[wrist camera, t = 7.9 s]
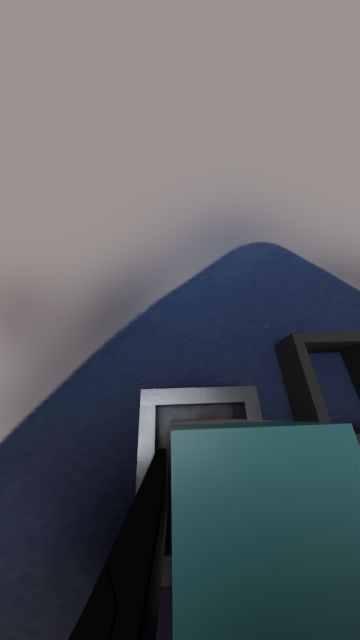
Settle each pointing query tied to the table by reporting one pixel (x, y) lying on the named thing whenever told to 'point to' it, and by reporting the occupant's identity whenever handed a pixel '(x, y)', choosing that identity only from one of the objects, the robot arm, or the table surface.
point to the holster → (300, 373)
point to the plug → (265, 530)
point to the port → (184, 406)
